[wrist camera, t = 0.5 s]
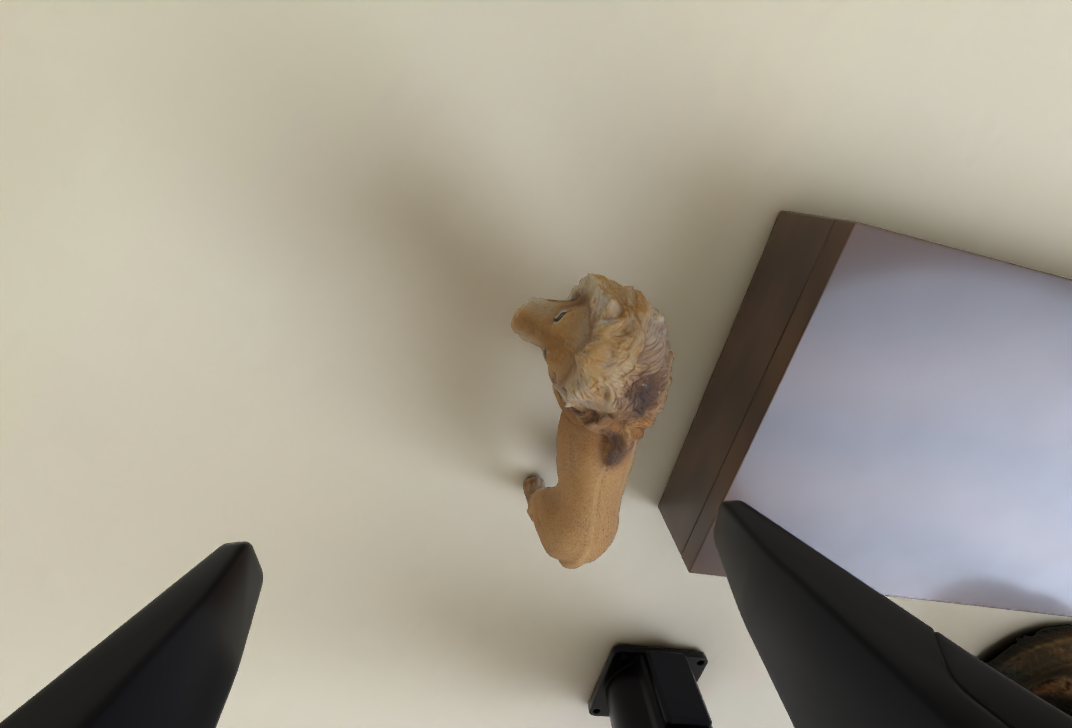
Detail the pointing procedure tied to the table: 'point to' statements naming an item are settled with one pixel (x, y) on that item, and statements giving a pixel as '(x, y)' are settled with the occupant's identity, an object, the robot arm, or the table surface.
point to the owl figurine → (1041, 665)
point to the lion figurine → (594, 407)
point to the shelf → (893, 417)
